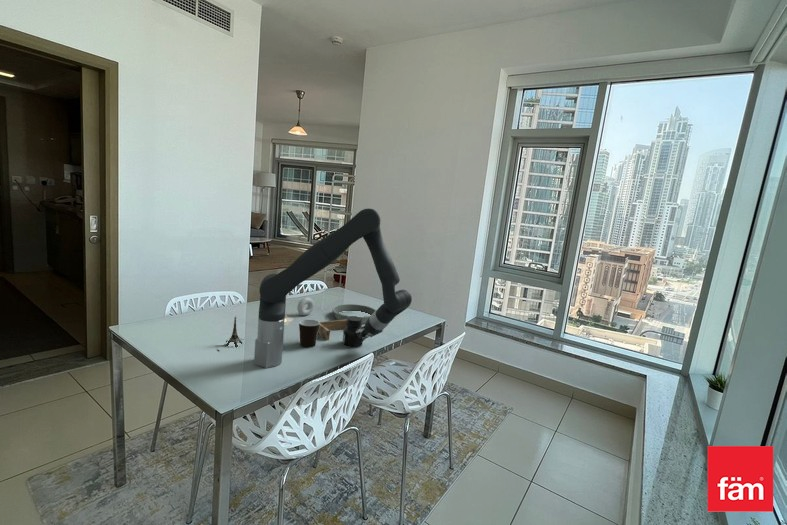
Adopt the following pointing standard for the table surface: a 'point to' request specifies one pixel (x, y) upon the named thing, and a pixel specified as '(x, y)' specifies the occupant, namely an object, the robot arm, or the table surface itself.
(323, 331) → the corral
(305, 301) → the donut
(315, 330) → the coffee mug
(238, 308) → the table surface
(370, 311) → the cake pan
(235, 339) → the eiffel tower figurine
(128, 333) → the table surface
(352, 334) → the ink bottle
